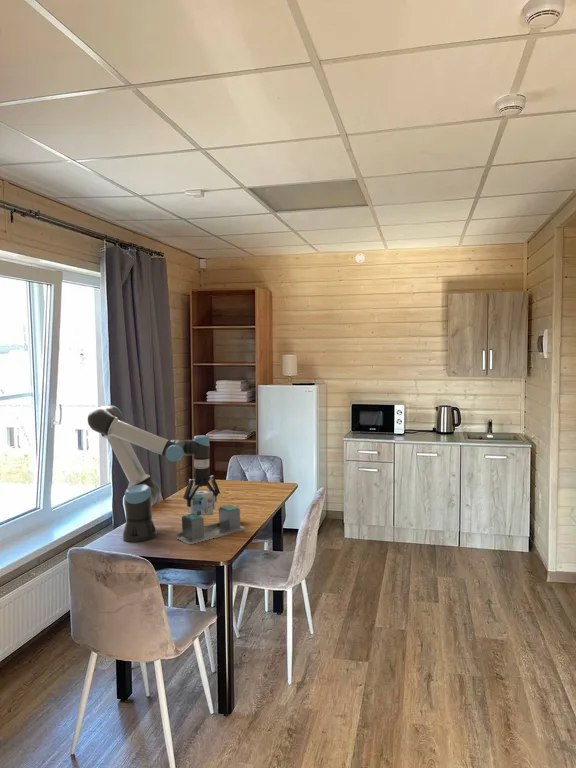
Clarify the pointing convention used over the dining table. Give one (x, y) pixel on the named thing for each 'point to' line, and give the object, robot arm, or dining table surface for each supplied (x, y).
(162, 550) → the dining table surface
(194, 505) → the light bulb box
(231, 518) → the grey u-shaped stand
